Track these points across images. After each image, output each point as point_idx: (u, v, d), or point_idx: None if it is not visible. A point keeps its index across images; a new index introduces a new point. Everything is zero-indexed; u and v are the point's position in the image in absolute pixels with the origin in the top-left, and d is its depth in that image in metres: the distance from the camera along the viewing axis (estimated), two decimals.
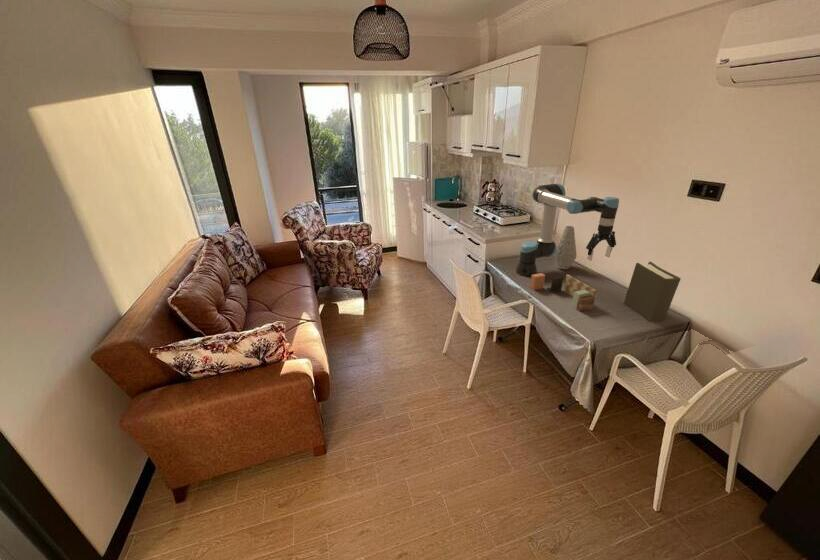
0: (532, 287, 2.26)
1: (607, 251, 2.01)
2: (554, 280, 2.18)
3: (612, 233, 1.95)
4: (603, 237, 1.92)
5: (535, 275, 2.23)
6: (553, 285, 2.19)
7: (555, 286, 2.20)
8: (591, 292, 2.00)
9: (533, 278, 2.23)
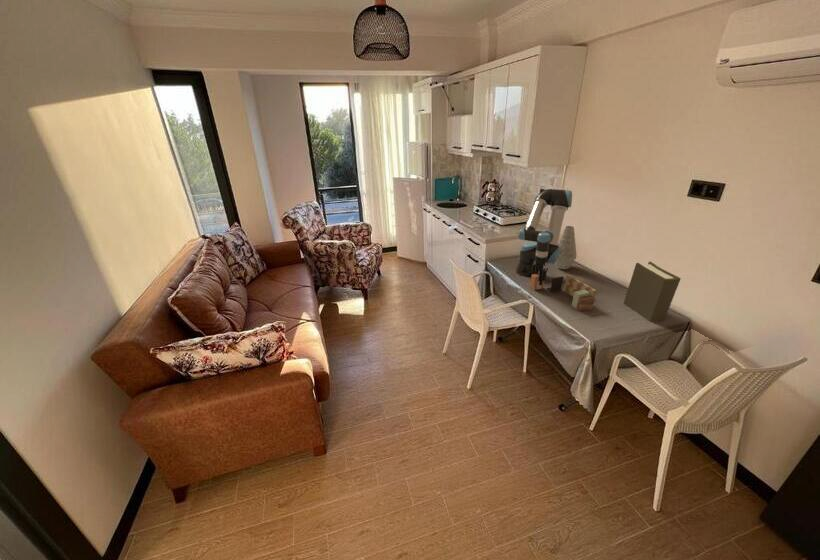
0: (532, 287, 2.26)
1: None
2: (554, 280, 2.18)
3: (543, 269, 2.16)
4: (535, 265, 2.21)
5: (535, 275, 2.23)
6: (553, 285, 2.19)
7: (555, 286, 2.20)
8: (591, 292, 2.00)
9: (533, 278, 2.23)
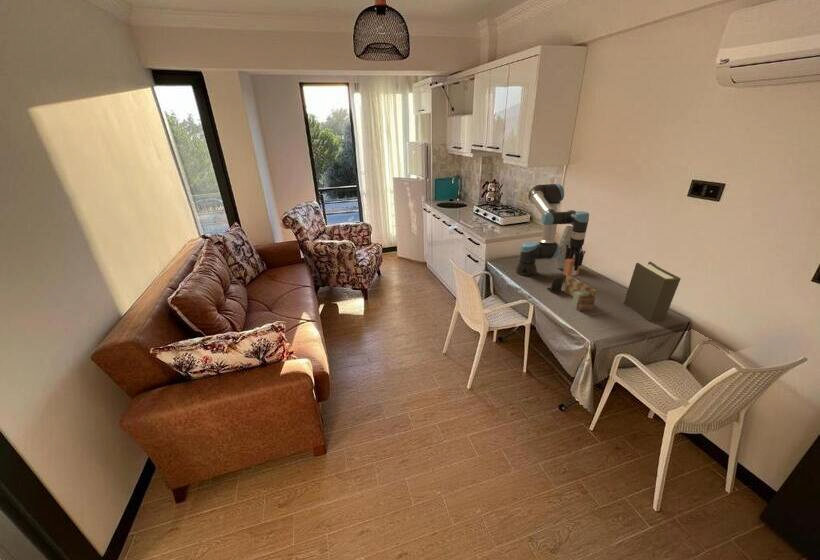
0: (566, 273, 2.04)
1: None
2: (554, 280, 2.18)
3: (581, 252, 1.95)
4: (571, 248, 2.00)
5: (570, 259, 2.02)
6: (553, 285, 2.19)
7: (555, 286, 2.20)
8: (591, 292, 2.00)
9: (568, 263, 2.02)
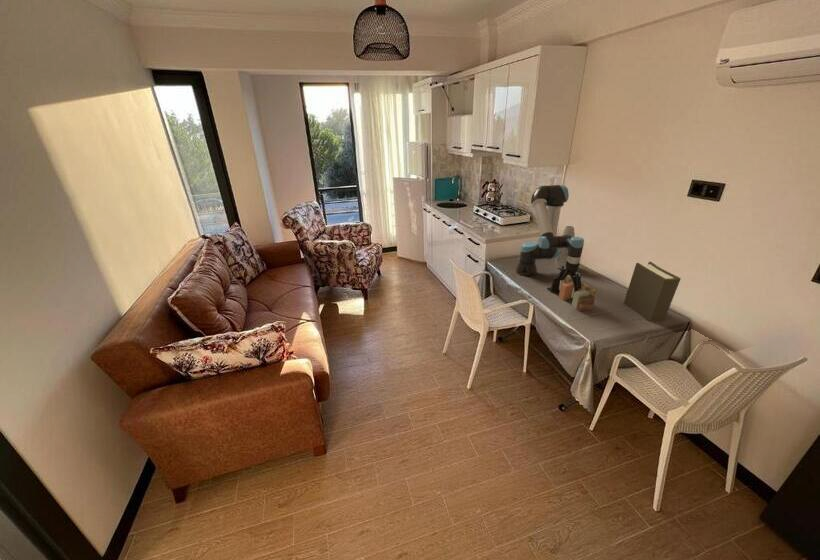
0: (561, 297, 2.12)
1: None
2: (554, 280, 2.18)
3: None
4: (566, 271, 2.07)
5: (565, 284, 2.09)
6: (553, 285, 2.19)
7: (555, 286, 2.20)
8: (591, 292, 2.00)
9: (563, 287, 2.09)
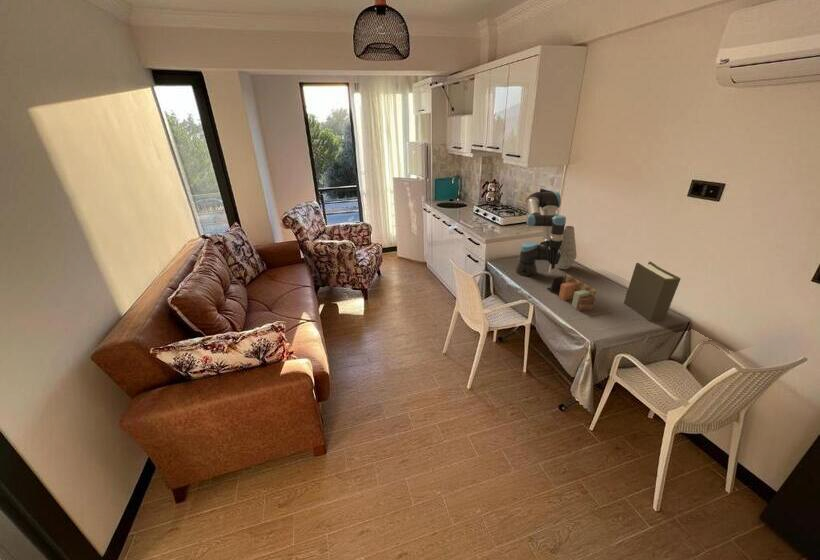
0: (561, 297, 2.12)
1: None
2: (554, 280, 2.18)
3: (558, 253, 2.13)
4: (550, 249, 2.18)
5: (565, 284, 2.09)
6: (553, 285, 2.19)
7: (555, 286, 2.20)
8: (591, 292, 2.00)
9: (563, 287, 2.09)
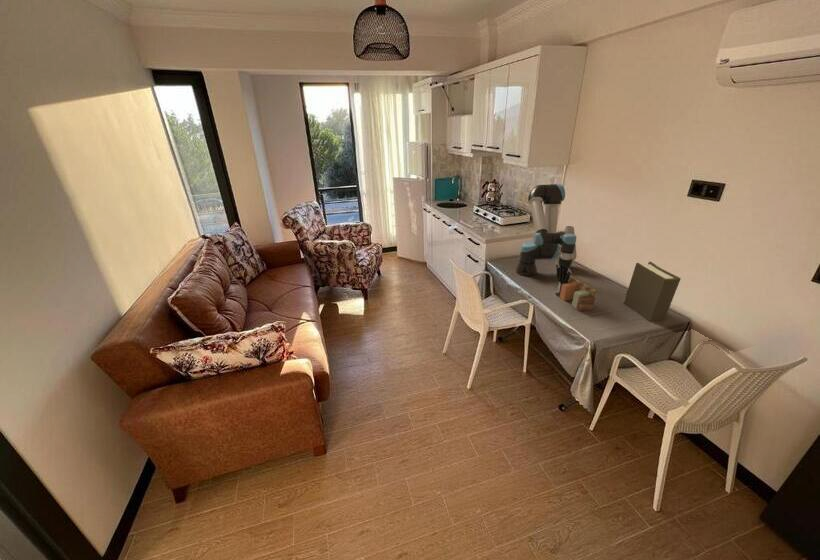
0: (562, 297, 2.11)
1: None
2: None
3: (568, 272, 2.07)
4: (560, 268, 2.12)
5: (566, 285, 2.09)
6: None
7: None
8: (591, 292, 2.00)
9: (564, 288, 2.09)
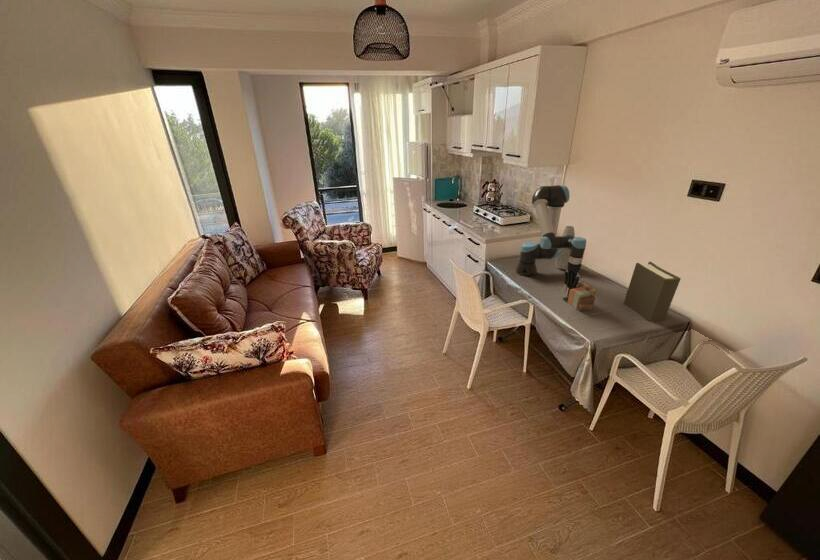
0: (570, 303, 2.05)
1: None
2: None
3: (577, 277, 2.01)
4: (568, 272, 2.05)
5: (574, 289, 2.02)
6: None
7: None
8: (591, 292, 2.00)
9: (572, 293, 2.02)
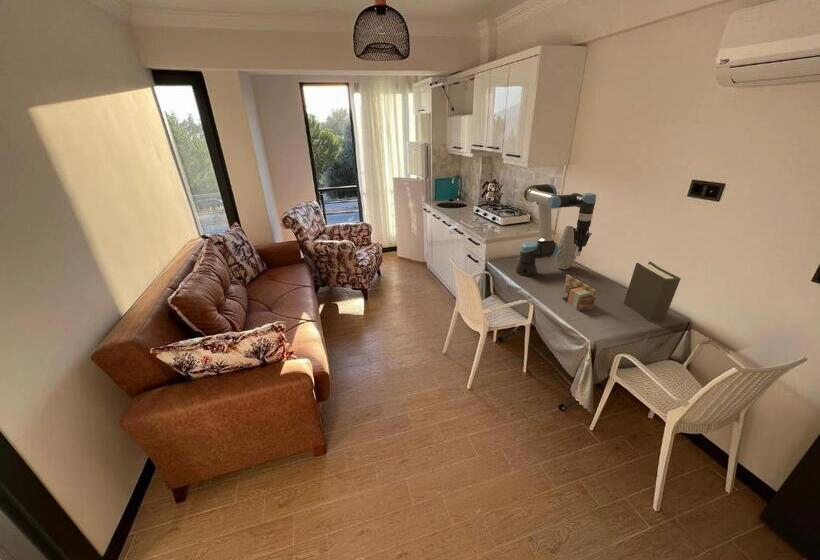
0: (570, 303, 2.05)
1: None
2: None
3: (587, 234, 1.98)
4: (578, 230, 2.03)
5: (574, 290, 2.03)
6: None
7: None
8: (591, 292, 2.00)
9: (572, 293, 2.02)
